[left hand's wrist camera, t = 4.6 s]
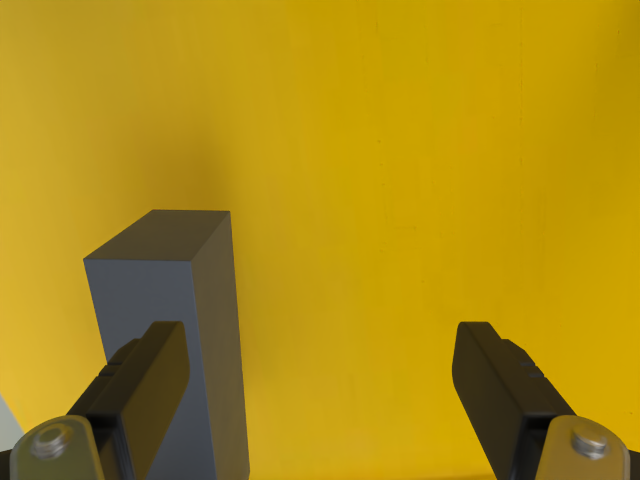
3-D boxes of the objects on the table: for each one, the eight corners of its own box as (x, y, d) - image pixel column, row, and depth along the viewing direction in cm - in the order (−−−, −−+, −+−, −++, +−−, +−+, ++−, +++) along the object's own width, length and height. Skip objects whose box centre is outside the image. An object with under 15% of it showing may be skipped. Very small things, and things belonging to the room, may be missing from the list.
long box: (152, 209, 29) (82, 258, 21) (230, 210, 29) (190, 260, 21) (192, 469, 39) (155, 573, 31) (250, 471, 39) (228, 575, 31)
